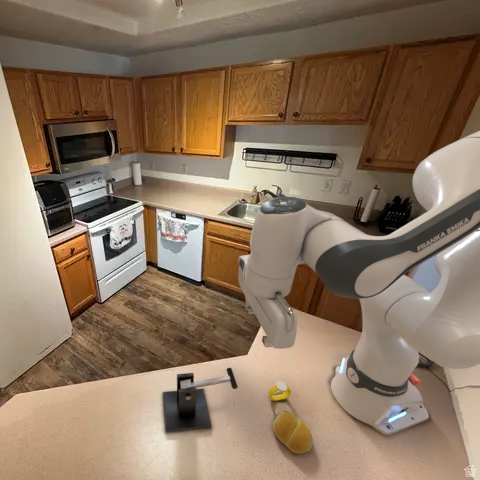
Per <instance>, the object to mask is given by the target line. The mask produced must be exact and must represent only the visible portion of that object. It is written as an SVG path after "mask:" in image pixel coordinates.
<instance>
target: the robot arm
mask: <svg viewBox="0 0 480 480" xmlns="http://www.w3.org/2000/svg"><path fill="white" fill-rule="evenodd" d="M411 183H412V191H413V194H414V196H415V199H416V201H417V202H418V203H419V205H420V206H421V207H422V208H423V209H424V210H425V211H426V212H424V213H423V214H421V215H419V216H418V217H416V218H414V219H413V220H411V221H410V222H408V223H406V224H405V225H403V226H401V227H399V228H398V229H396V230H395V231H393V232H391V233H390V234H388V235H379V236H378V235H371V234H366V233H365V232H363V231H362V230H361V229H358V228H357V227H355V226H353V225H352V224H350V222H347V221H345V220H344V219H343V218H341V217H339V216H338V215H336V214H334V213H332V212H329V211H327V210H319V209H317V208H315V207H313V206H312V205H309V204H308V203H307V201H305V200H304V199H301V198H299V197H294V196H277V197H273V198H270V199H268V200H266V201H265V202H263V203H262V204H261V205H260V207H259V208H258V210H257V212H256V214H255V217H254V220H253V224H252V229H251V234H250V240H249V248H250V253H249V254H244V255H243V254H242V255H239V256H238V261H237V262H238V263H237V264H238V265H239V266H238V275H237V280H238V285H239V287H240V289H241V291H242V293H243V295H244V299H245V304H246V305H245V311H246V313H247V314H248V315H255V317H256V320H257V321H258V322H259V324H260V326H261V329H262V330H263V331H264V334H265V335H262V339H261V341H262V344H263V346H264V348H273V349H278V350H282V349H284V350H285V349H290V348H292V347H294V346H295V342H296V337H297V331H298V317H297V314H296V312H295V311H294V309H293V308H292V306H291V305H290V304H289V302H288V301H287V300H286V297H287V296H288V295H289V294H290V293H291V290H292V287H293V283H294V280H295V276H296V272H297V268H298V266H299V265H303V264H304V265H305V264H307V266H308V267H309V268H310V269H311V270H312V271H313V272H314V273H315V274H316V276H317V277H318V278H319V280H320V281H321V282H322V284H323V285H324V286H325V288H326V289H327V290H328V291H329V293H331V294H333V295H335V296H337V297H341V298H345V299H356V300H357V299H358V300H359V304H360V308H361V309H360V310H361V319H362V324H361V327H362V330H361V334H360V336H359V340H358V342H357V344H356V347H355V349H353V350H352V351H351V353H350V354H349V355H348V356H347V357H346V358H345V357H343V358H342V361H341V365H338V366H336V367H335V370H334V374H335V375H334V376H333V378H332V379H331V382H330V390H331V393H332V395H333V397H334V399H335V401H336V402H337V404H339V406H340V407H341V408H342V409H343V410H344V411H345V412H346V413H348V415H351V416H352V417H353V418H355V419H356V420H358V421H360V422H362V423H364V424H367V425H369V426H371V427H372V428H374V429H375V430H376V431H378V432H380V434H382V435H384V436H390V435H393V434H396V433H398V432H400V431H401V432H402V431H403V430H406V429H408V428H410V427H413V426H415V425H418V424H421V423H423V422H425V421H428V420H429V418H430V417H429V416H430V415H429V413H428V410H427V408H426V406H425V405H424V403H423V400H424V399H423V397H422V394H421V392H420V391H419V389H418V388H417V387H416V386H419V385H421V384H422V381H421V380H420V379H419V378H418V377H417V376H416V375H415V374H412V373H413V372H414V370H415V369H416V368H417V366H419V367H423V368H428V367H432V366H433V364H436V365H437V366H439V367H441V368H446V369H453V370H462V369H463V370H464V369H470V368H474V367H476V366H479V365H480V130H478V131H475V132H473V133H470V134H469V135H467V136H464V137H462V138H460V139H458V140H456V141H454V142H452V143H449V144H447V145H446V146H443V147H441V148H439V149H438V150H436V151H434V152H432V153H431V154H430V155H428V156H426V157H425V158H424V159H423V160H422V161H420V163H419V164H418V165H417V166H416V168H415V170H414V173H413V175H412V182H411ZM433 257H435V258H434V269H435V270H436V272H437V274H438V276H439V278H440V279H439V283H438V284H437V285H436V286H435V288H434V289H433V290H431V291H429V290H428V289H427V288H425V287H424V286H422V285H420V284H419V283H418V282H416V281H415V280H413V279H412V278H410V277H409V276H408V275H406V274H407V273H408V272H410V271H411V270H413V269H415V268H416V267H419V266H420V265H421V264H423V263H425V262H426V261H428V260H430V259H431V258H433ZM420 354H421V355H422V356H424V357H425V358H426V359H428V360H429V362H428V363H422V362H420Z"/></svg>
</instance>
